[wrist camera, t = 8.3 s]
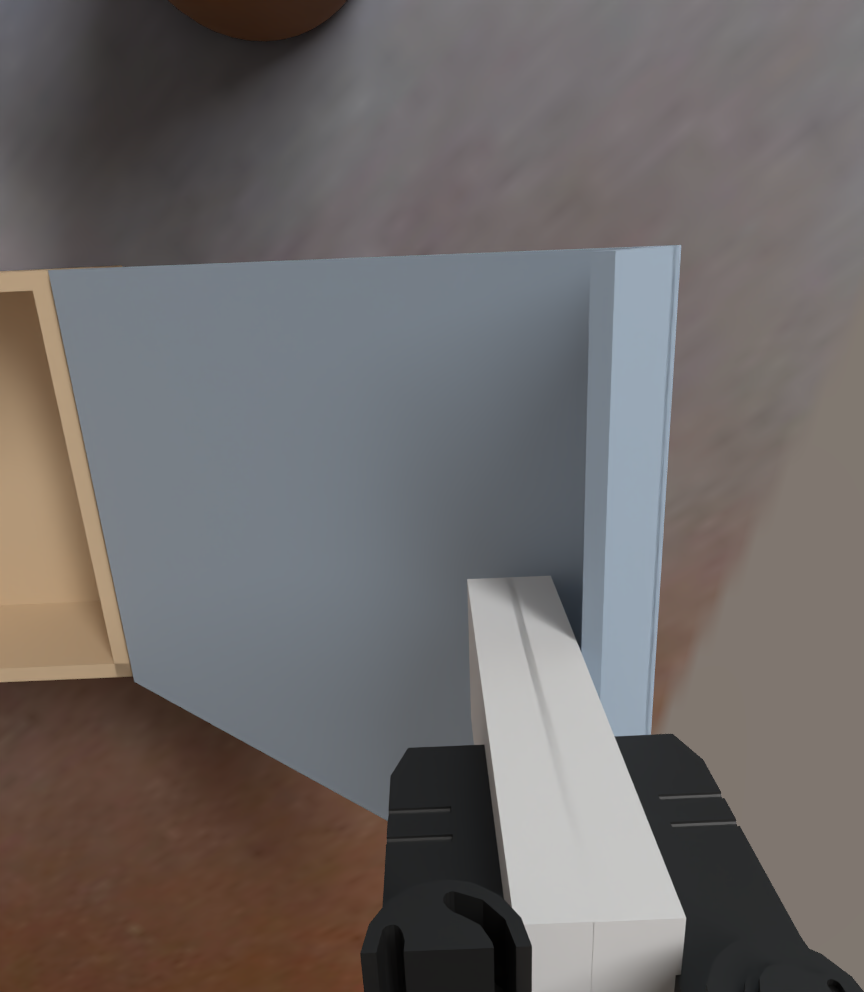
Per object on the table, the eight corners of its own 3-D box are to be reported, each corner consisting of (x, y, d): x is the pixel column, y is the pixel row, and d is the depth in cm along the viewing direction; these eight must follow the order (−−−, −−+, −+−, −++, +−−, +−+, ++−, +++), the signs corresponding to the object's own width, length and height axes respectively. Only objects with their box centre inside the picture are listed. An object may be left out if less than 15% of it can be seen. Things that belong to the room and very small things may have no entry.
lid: (588, 1038, 12) (637, 943, 14) (616, 250, 8) (680, 245, 10) (78, 711, 22) (143, 677, 23) (-28, 274, 18) (58, 269, 19)
